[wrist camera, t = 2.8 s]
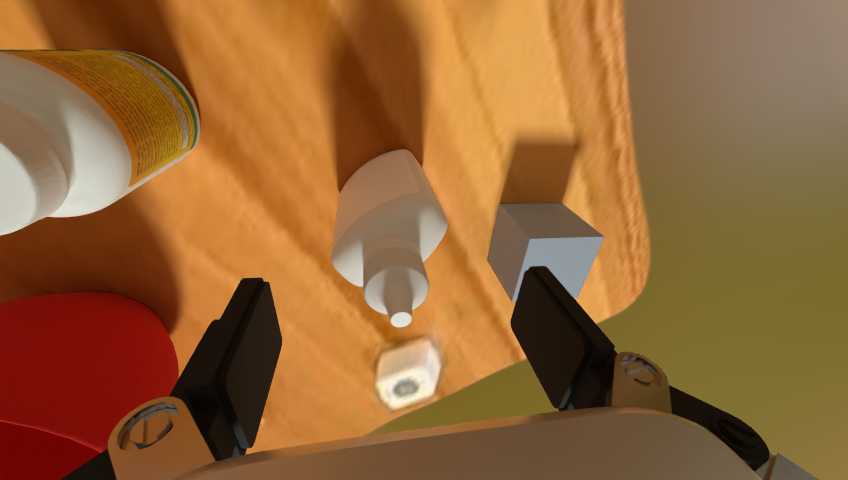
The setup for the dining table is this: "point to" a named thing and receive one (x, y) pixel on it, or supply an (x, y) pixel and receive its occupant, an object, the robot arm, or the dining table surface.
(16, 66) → the supplement bottle
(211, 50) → the dining table surface
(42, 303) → the ceramic cup
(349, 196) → the eye dropper bottle
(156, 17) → the dining table surface
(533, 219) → the slate block
